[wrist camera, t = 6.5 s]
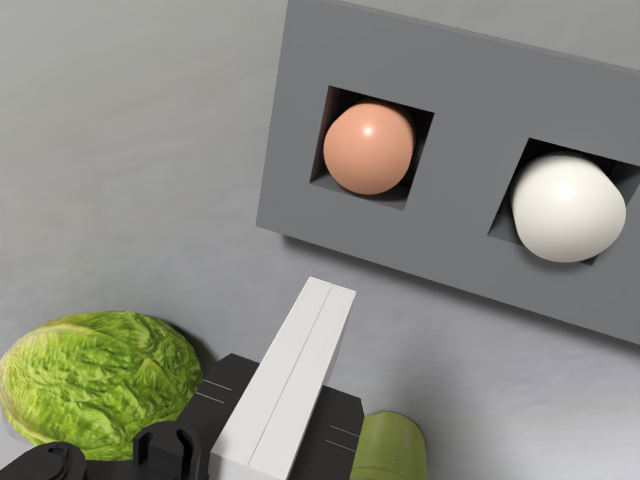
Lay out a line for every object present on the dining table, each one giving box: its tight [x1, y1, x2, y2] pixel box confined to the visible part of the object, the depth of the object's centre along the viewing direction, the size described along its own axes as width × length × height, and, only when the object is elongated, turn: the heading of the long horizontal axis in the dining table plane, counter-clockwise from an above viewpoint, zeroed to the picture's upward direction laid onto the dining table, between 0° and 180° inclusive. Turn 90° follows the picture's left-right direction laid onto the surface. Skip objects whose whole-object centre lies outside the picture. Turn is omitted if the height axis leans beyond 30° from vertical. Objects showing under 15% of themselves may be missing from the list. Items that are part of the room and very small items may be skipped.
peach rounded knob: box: [324, 97, 416, 194], centre depth 28 cm, size 5×5×4 cm
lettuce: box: [0, 311, 204, 461], centre depth 42 cm, size 13×22×14 cm
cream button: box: [510, 151, 626, 262], centre depth 25 cm, size 5×5×4 cm
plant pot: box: [349, 411, 429, 480], centre depth 38 cm, size 9×9×9 cm
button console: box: [256, 0, 640, 345], centre depth 27 cm, size 34×14×4 cm, turn 78°
